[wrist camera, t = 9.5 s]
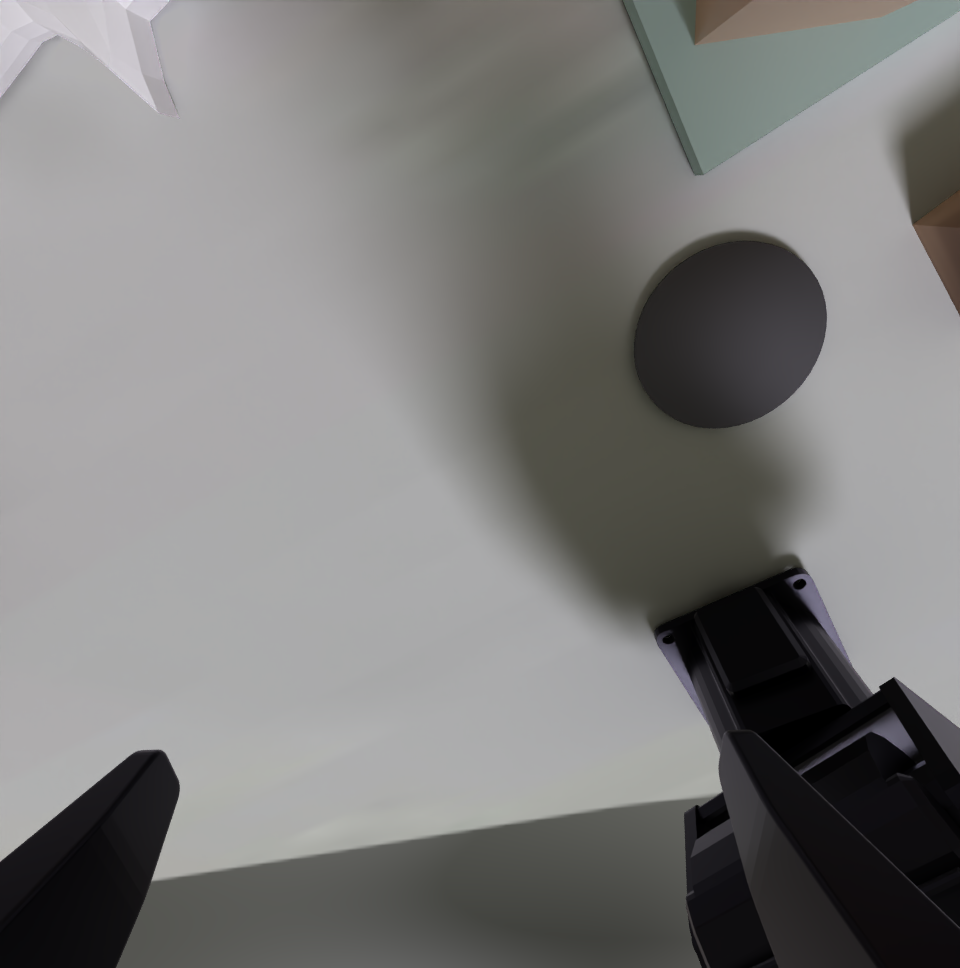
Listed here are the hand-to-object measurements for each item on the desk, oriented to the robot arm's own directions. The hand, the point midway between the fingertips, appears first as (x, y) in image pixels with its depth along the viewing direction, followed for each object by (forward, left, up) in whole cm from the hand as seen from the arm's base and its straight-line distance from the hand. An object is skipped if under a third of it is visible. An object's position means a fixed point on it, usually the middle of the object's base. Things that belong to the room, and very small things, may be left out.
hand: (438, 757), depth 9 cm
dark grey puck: (-1, -9, -13) cm, 16 cm away
